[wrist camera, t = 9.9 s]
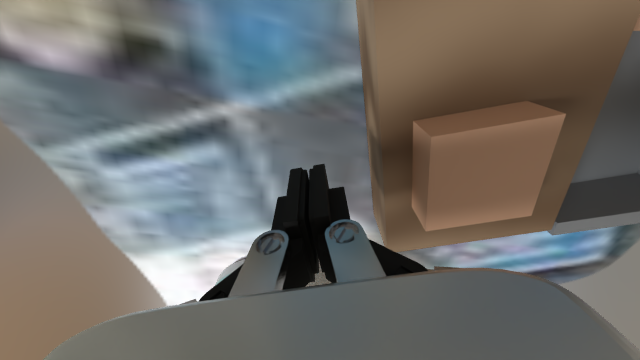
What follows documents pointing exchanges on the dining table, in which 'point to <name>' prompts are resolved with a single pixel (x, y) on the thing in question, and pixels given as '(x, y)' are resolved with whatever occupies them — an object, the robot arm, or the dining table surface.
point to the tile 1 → (481, 163)
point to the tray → (609, 158)
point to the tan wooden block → (481, 89)
